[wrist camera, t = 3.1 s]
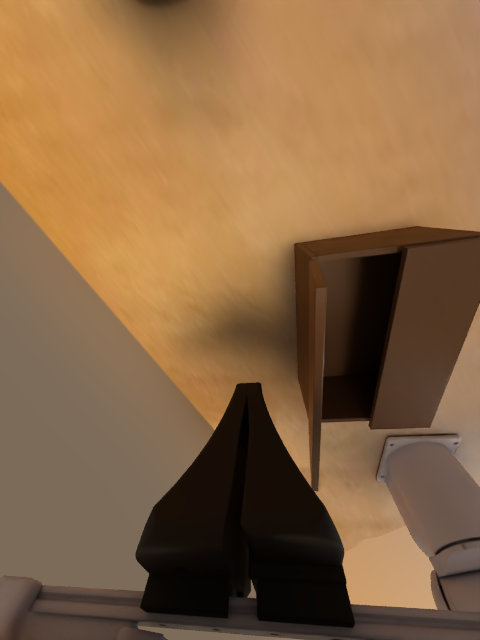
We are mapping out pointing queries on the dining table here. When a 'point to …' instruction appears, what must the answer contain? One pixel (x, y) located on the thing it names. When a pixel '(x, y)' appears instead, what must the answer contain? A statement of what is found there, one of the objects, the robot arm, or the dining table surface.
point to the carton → (388, 321)
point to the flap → (316, 363)
